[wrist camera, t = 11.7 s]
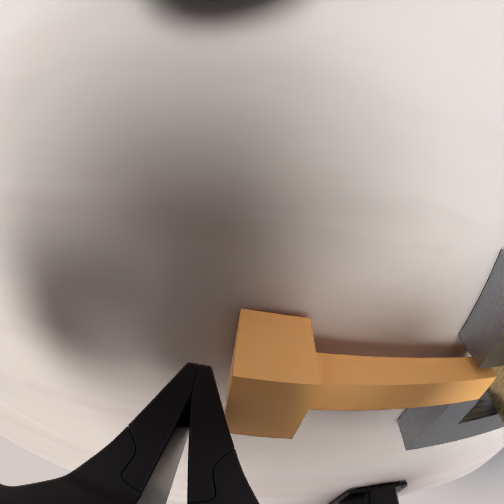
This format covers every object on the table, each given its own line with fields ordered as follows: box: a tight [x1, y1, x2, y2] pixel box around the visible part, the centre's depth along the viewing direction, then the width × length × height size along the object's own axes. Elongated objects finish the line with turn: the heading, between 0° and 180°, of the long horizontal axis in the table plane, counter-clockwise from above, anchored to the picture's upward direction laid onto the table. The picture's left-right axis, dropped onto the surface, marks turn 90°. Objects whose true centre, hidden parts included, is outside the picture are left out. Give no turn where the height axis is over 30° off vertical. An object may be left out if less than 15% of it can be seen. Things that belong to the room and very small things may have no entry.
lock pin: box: [225, 308, 497, 439], centre depth 10 cm, size 3×11×3 cm, turn 81°
